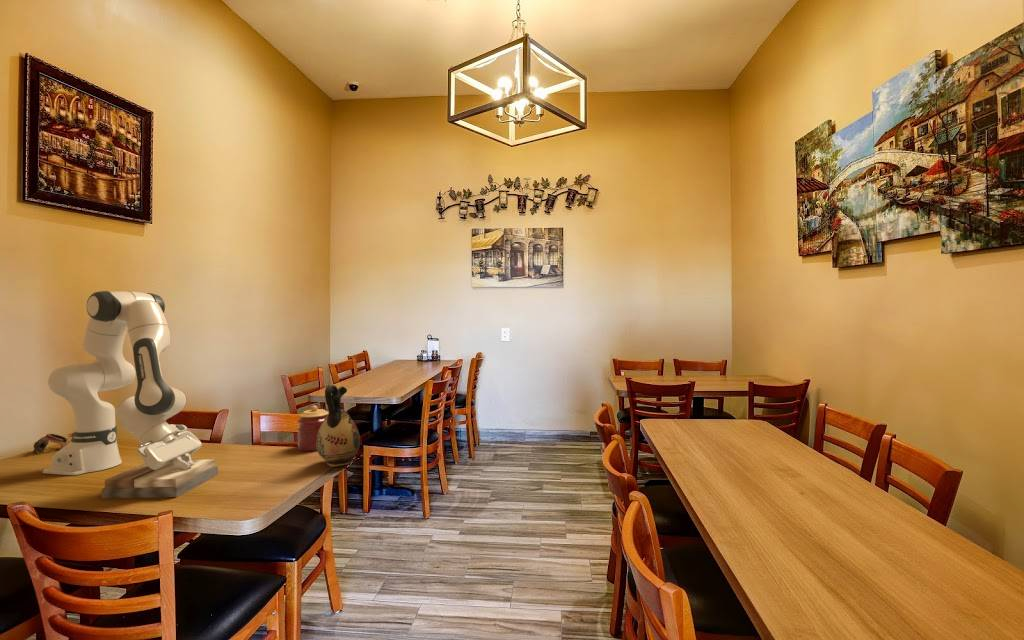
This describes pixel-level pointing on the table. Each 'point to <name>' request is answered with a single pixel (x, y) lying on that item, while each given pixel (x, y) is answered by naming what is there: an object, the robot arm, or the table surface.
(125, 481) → the grey flat block
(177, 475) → the plank
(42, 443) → the strapped headlamp
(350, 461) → the ceramic jug
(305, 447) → the canister
